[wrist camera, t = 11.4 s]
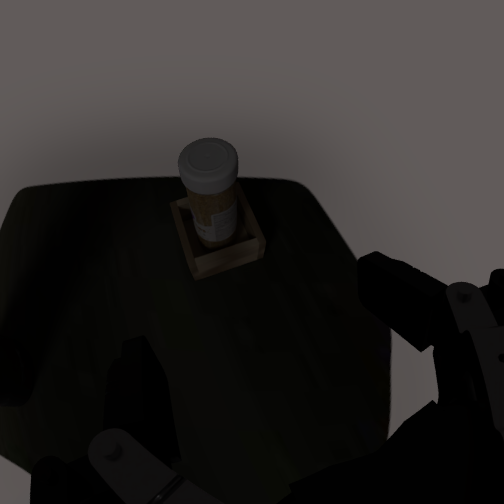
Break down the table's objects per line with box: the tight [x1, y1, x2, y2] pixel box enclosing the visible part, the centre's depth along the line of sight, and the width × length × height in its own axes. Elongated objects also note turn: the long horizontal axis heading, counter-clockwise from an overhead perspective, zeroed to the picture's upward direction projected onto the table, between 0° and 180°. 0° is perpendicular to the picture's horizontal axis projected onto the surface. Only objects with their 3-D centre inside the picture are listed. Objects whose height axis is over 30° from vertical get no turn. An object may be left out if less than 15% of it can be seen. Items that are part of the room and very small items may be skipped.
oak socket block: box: [170, 182, 266, 281], centre depth 31 cm, size 8×8×4 cm
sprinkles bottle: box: [178, 138, 238, 253], centre depth 26 cm, size 5×5×14 cm
